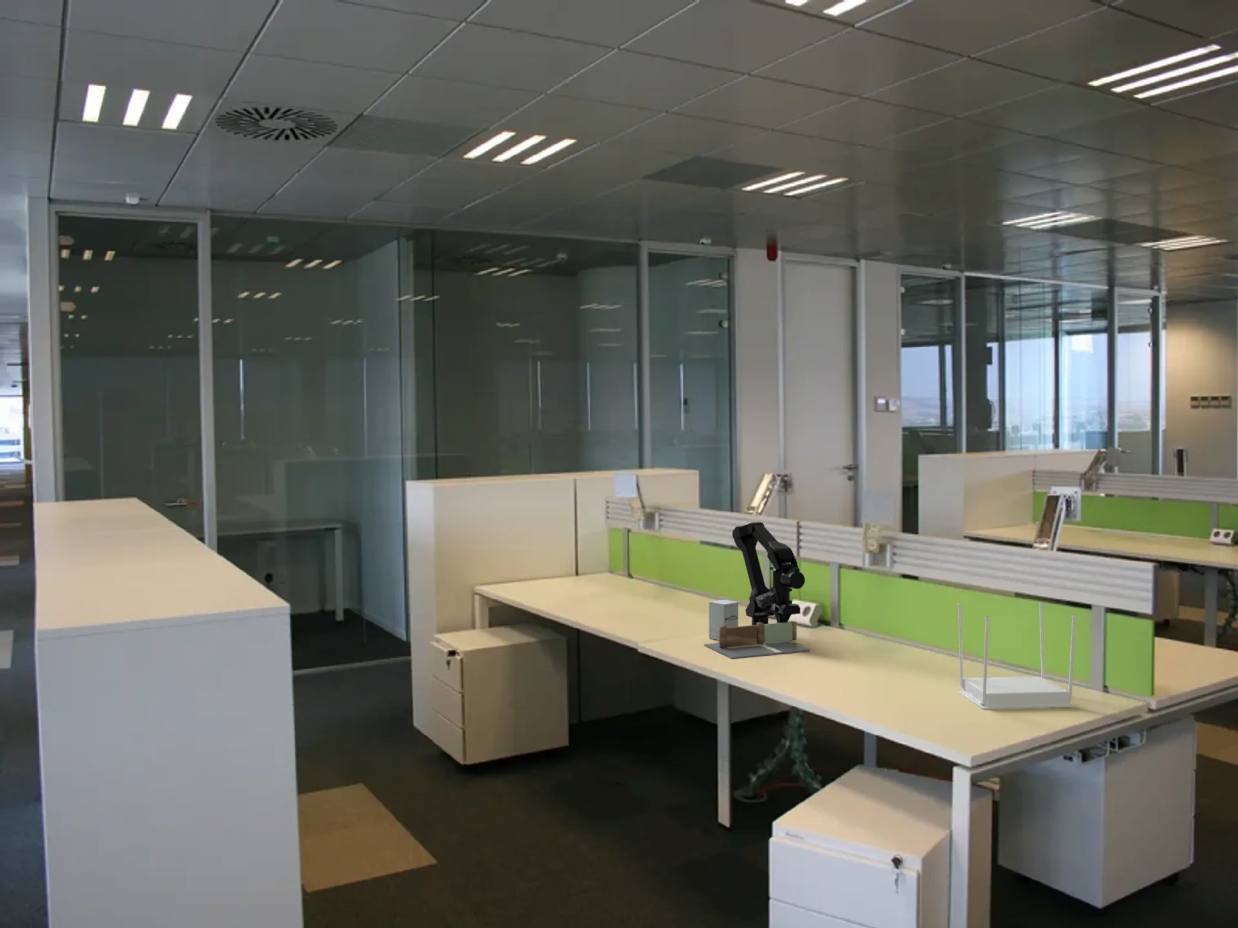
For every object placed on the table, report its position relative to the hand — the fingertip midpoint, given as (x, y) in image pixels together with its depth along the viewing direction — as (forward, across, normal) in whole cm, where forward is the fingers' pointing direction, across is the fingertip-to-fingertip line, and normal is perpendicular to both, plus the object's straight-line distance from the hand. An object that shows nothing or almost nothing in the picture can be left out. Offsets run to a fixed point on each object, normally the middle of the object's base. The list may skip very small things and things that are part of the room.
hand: (781, 630), depth 344 cm
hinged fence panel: (+3, +3, -2) cm, 4 cm away
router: (+4, +82, +32) cm, 88 cm away
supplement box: (+4, -10, -17) cm, 20 cm away
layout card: (+4, +7, -12) cm, 14 cm away
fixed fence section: (+3, +5, -16) cm, 17 cm away
